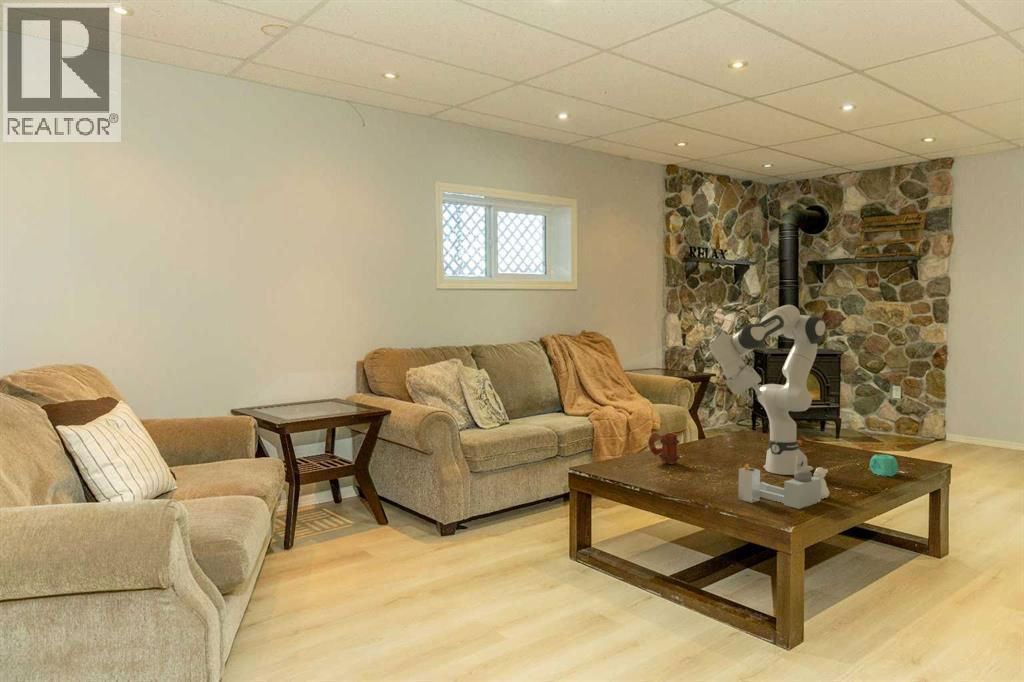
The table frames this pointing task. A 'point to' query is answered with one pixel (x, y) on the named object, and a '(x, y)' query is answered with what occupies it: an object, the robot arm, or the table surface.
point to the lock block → (749, 484)
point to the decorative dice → (883, 465)
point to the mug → (665, 447)
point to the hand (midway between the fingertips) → (754, 398)
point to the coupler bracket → (795, 490)
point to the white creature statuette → (822, 481)
